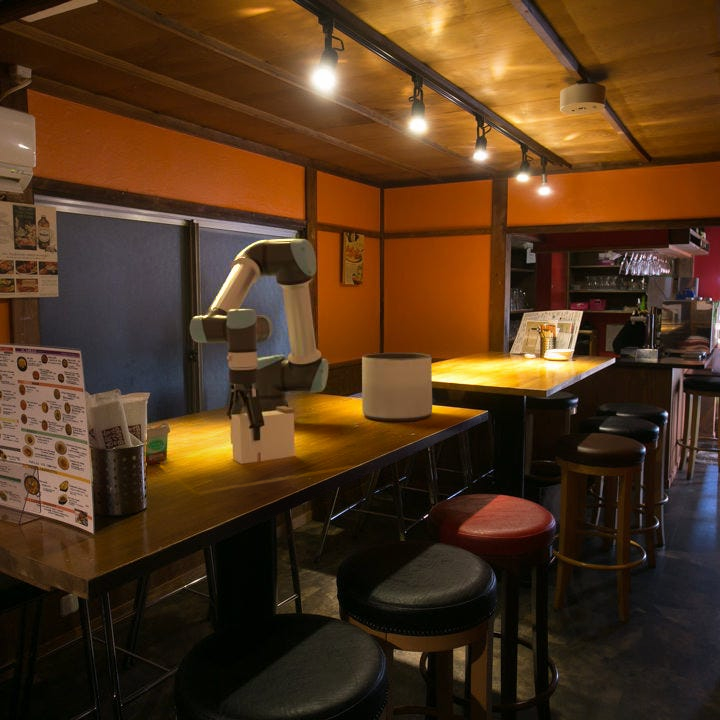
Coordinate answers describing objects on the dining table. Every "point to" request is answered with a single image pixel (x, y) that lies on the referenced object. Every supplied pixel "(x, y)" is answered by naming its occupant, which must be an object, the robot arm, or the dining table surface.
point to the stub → (242, 440)
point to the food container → (157, 444)
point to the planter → (396, 386)
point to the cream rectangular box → (277, 434)
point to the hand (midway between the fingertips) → (245, 447)
